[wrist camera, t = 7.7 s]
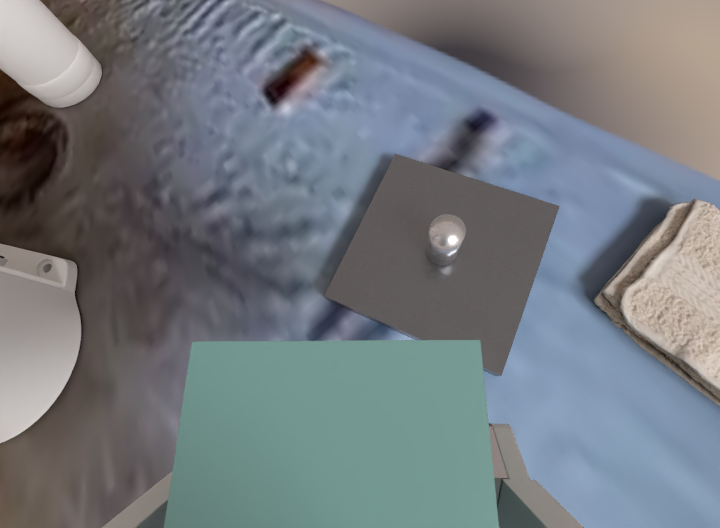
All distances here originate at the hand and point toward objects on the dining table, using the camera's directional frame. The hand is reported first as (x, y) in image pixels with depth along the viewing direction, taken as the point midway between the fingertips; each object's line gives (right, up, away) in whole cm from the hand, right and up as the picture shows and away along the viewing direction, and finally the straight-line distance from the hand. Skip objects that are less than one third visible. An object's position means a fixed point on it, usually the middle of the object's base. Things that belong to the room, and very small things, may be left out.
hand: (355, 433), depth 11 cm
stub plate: (+7, +6, +18) cm, 20 cm away
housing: (+1, -2, +5) cm, 5 cm away
